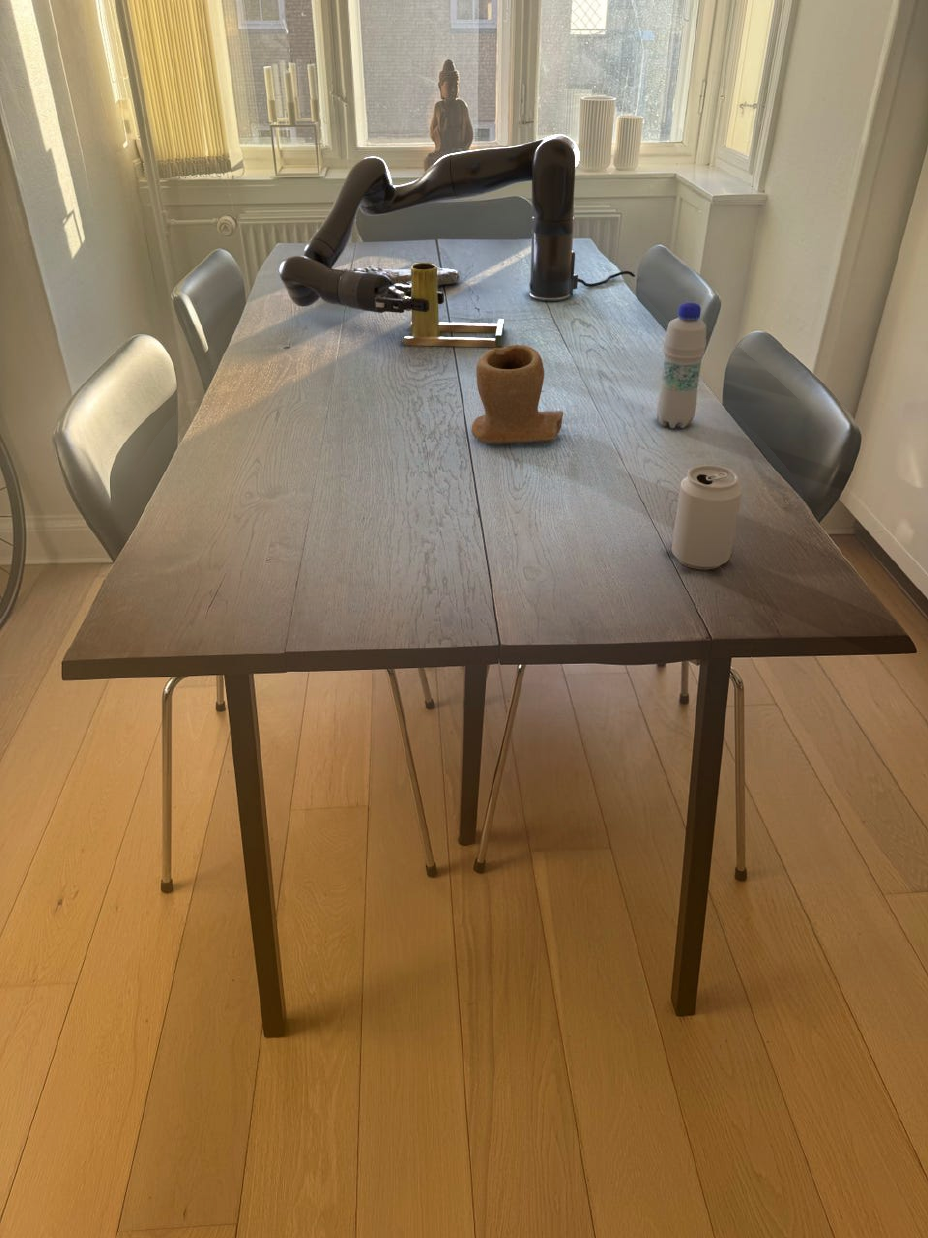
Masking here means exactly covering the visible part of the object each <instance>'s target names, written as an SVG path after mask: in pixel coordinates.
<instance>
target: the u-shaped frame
mask: <svg viewBox="0 0 928 1238" xmlns="http://www.w3.org/2000/svg"><path fill="white" fill-rule="evenodd" d="M409 327H410V332H412V321H410V324H409ZM439 332H445V333H446V332H449V333H452V332H453V333H486V334H487V333H489V334H491V333H493V334H495V338H494V337H460V336H459V337H458V336H457V337H456V336H453V337H452V336H440V337H418V336H411V335H406V336H404V338H403V339H404V346H415V347H416V346H418V347H421V346H423V347H454V348H455V347H457V348H458V347H459V348H460V347H462V348H492V349H495V348H502V344H503V339H504V332H505V319H501V318H498V320H497V323H474V322H473V323H471V322H439Z"/></svg>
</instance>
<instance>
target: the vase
mask: <svg viewBox="0 0 928 1238" xmlns="http://www.w3.org/2000/svg"><path fill="white" fill-rule="evenodd" d="M437 268H438V266H437V265H436V264H435V263H431V262H418V263H414V264H412V265H410V269H411V299H412V298H417V299H423V300H428V301H429V311H427V312H422V311H415V310H412V309H411V322H412V331H411V332H410V333H411V334H410V336H418V337H441V331H439V323H440V321H439V304H438V295H437V292H438V286H437Z"/></svg>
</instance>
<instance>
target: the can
mask: <svg viewBox="0 0 928 1238" xmlns="http://www.w3.org/2000/svg"><path fill="white" fill-rule="evenodd" d="M739 480H740V478H739V474H737V473H736V472H735V471H734V470H732V469H730V468H728V467H724V466H721V465H715V464H701V465H697V466H693V467H691V469H688V471H687V473H686V477H684V478H683V479H682V480H681V482H680V485H679V493H678V499H677V507H676V513H675V521H674V527H673V528H674V529H673V534H672V540H671V547H670V548H671V553H672V554H673V556H674V557H675V558H676V559H677V560H678V561H679V562H680V563H681V564H682V565H684V566H686V567H689V568H691V569H696V570H703V571H704V570H705V571H706V570H707V571H708V570H713V569H717V568H719V567H720V566H721V565H724V564H725V563H727V562H728V561H729V560H730V558H731V554H732V550H733V549H732V548H733V542H734V539H735V532H736V528H737V527H736V526H737V521H738V516H739V510H740V504H741V498H742V494H743V488H742V486H741V484H740V483H739Z"/></svg>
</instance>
